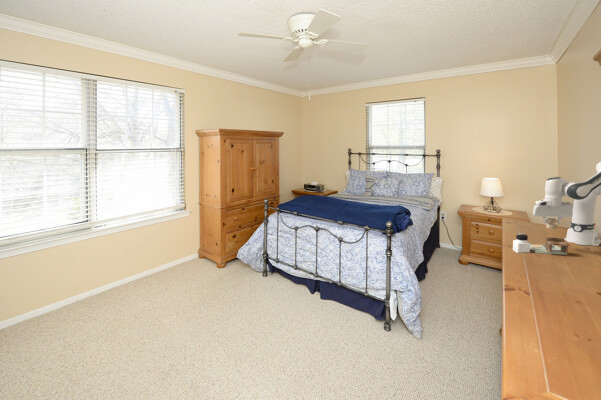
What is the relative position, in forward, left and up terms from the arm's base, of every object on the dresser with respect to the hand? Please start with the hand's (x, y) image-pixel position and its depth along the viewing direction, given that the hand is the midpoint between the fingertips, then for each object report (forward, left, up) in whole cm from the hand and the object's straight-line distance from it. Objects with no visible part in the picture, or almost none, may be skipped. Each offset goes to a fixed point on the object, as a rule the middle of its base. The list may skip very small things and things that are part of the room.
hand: (551, 223), depth 197 cm
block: (0, 0, -3) cm, 3 cm away
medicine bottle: (+18, -8, -19) cm, 27 cm away
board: (+5, 0, -19) cm, 19 cm away
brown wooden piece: (+7, +6, -16) cm, 19 cm away
